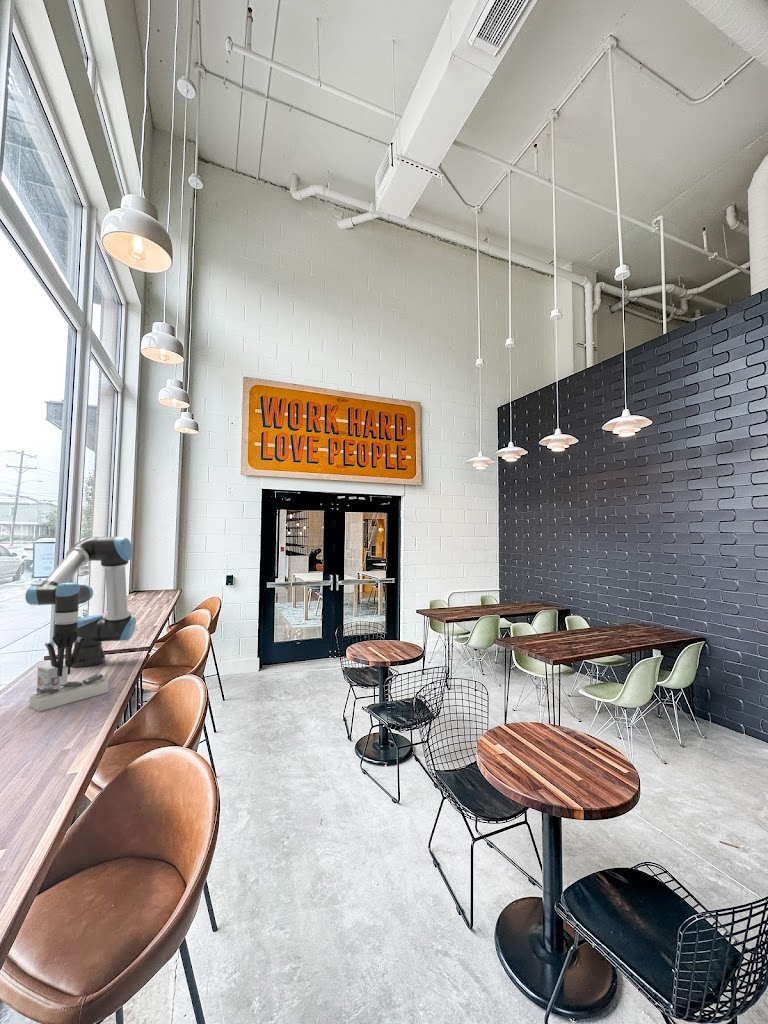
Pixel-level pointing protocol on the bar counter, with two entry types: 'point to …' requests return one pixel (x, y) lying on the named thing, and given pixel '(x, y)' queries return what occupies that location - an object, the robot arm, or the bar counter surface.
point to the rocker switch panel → (67, 695)
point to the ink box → (47, 677)
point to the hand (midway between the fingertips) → (63, 683)
